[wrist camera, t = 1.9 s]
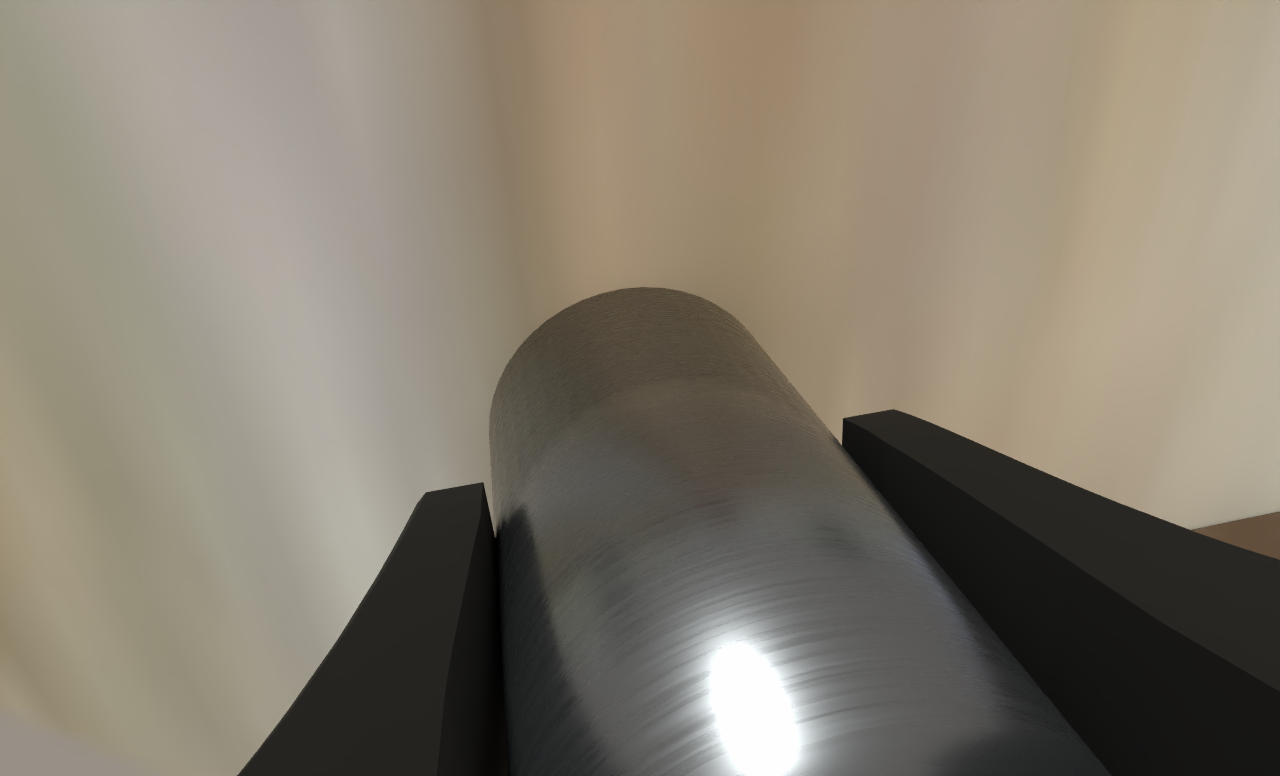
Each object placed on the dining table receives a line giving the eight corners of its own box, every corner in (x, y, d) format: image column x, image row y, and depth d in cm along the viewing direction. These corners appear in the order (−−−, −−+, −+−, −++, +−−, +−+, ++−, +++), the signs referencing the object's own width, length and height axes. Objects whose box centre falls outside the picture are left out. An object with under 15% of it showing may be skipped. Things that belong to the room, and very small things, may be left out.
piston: (773, 266, 11) (1202, 660, 4) (776, 516, 12) (1083, 1039, 6) (463, 312, 10) (462, 831, 4) (514, 566, 12) (569, 1190, 6)
